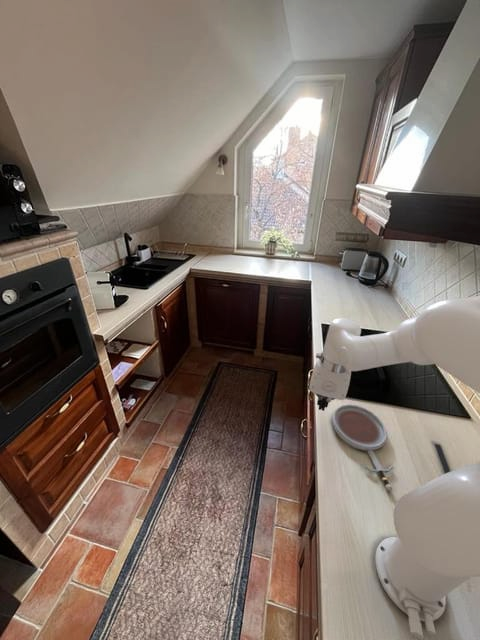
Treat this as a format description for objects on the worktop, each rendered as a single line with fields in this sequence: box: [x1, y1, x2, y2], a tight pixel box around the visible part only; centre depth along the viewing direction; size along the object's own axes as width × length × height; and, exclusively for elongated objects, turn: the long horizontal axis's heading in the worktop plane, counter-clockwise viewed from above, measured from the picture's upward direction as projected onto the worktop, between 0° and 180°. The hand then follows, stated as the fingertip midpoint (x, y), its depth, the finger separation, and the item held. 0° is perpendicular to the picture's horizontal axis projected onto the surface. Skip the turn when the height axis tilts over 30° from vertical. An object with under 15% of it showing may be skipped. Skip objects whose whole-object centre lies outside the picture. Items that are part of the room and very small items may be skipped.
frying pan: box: [331, 403, 394, 492], centre depth 79 cm, size 17×3×28 cm
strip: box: [434, 443, 451, 474], centre depth 75 cm, size 12×2×1 cm, turn 161°
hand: (321, 406), depth 79 cm, fingers closed
